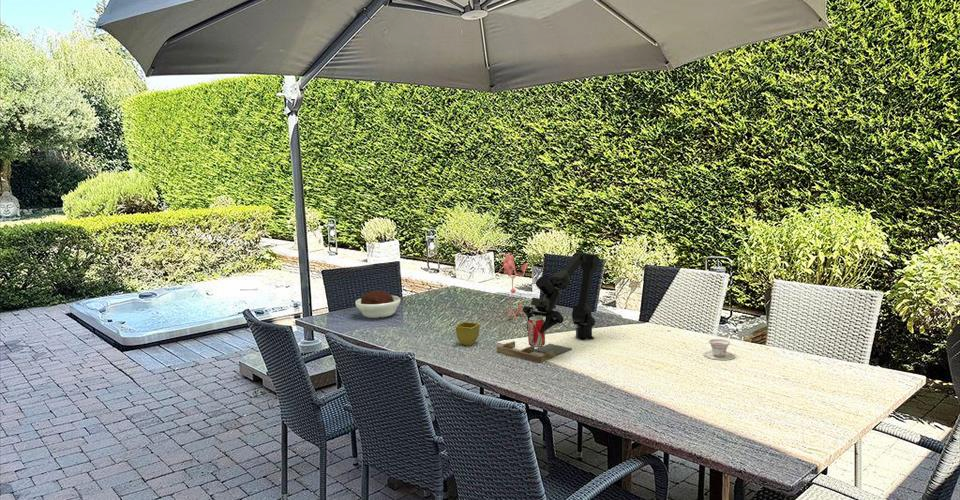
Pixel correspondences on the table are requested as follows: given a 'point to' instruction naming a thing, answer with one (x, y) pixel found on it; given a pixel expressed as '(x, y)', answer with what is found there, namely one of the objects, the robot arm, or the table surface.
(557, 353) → the rubber mat
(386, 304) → the white dessert bowl
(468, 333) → the flower pot
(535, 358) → the shelf lanes
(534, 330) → the soda can
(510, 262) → the figurine
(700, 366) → the table surface
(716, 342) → the teacup
